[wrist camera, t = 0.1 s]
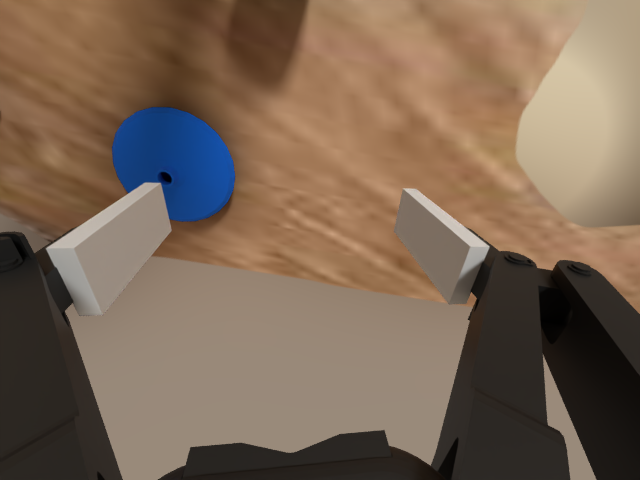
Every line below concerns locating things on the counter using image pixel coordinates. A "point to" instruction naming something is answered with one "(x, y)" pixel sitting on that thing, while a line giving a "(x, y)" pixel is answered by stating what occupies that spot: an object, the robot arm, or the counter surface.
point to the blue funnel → (175, 161)
